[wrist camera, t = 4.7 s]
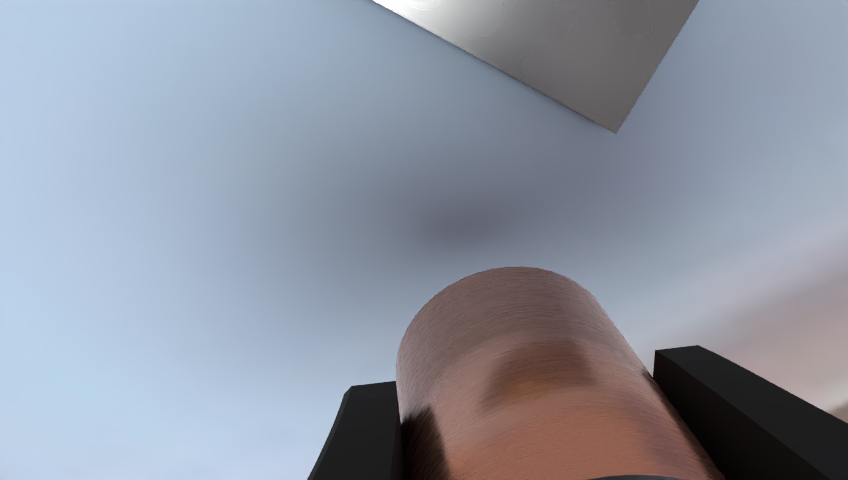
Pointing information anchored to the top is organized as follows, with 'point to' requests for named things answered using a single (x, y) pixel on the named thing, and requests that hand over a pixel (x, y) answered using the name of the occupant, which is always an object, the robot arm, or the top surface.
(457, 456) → the round knob
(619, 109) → the collar plate
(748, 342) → the top surface
